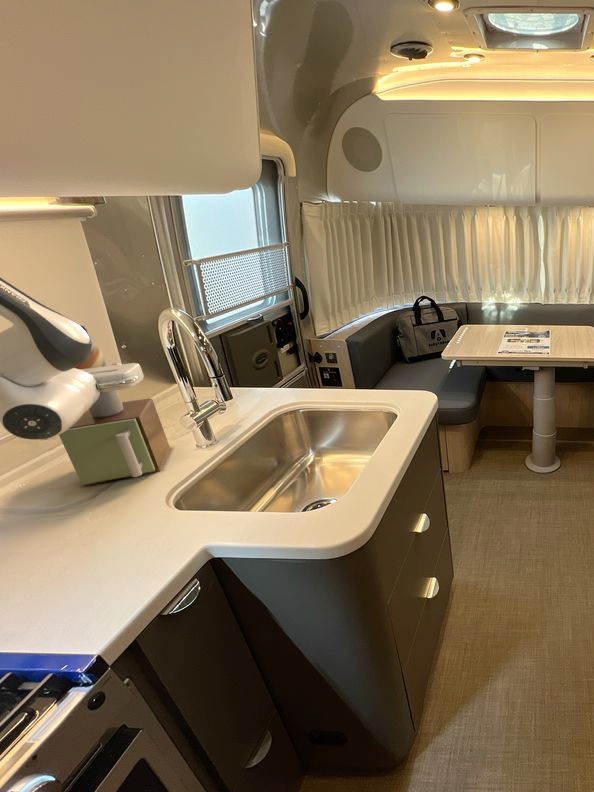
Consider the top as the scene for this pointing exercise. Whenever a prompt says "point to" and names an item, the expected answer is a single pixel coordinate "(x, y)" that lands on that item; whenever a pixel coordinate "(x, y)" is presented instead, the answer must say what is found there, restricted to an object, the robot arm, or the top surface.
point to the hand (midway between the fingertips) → (92, 370)
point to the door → (107, 451)
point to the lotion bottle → (107, 400)
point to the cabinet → (147, 424)
